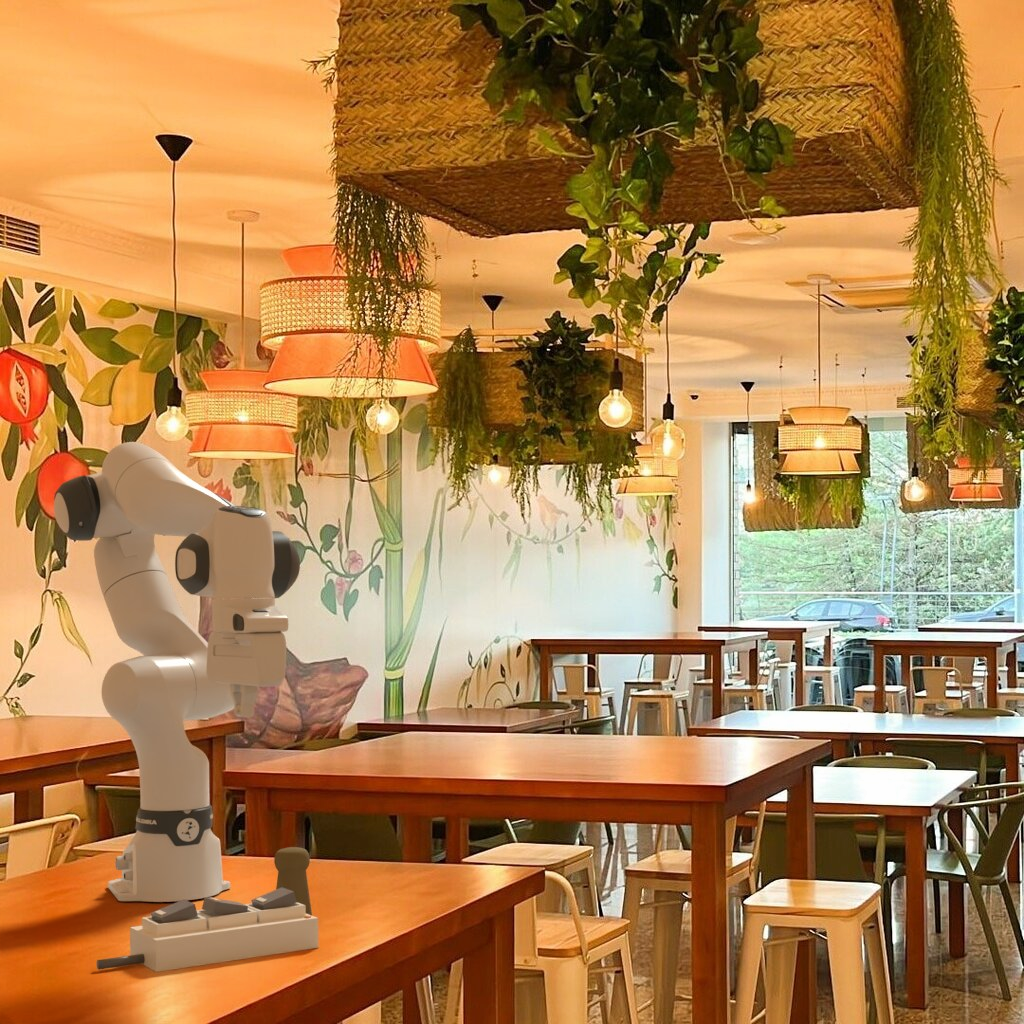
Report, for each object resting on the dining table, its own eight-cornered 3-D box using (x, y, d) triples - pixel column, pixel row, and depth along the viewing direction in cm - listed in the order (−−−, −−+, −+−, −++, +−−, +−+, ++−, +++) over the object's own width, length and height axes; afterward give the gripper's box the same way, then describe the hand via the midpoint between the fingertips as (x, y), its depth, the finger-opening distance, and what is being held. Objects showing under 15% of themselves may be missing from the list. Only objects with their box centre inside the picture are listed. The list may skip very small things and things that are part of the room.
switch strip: (86, 963, 204) (85, 921, 204) (287, 934, 220) (287, 895, 220) (110, 978, 195) (110, 934, 196) (318, 947, 211) (318, 906, 212)
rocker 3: (254, 911, 214) (250, 899, 214) (284, 898, 216) (281, 886, 216) (265, 915, 210) (262, 903, 210) (296, 902, 213) (293, 890, 213)
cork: (315, 918, 231) (314, 844, 231) (311, 927, 225) (310, 850, 225) (274, 919, 231) (273, 845, 231) (269, 928, 224) (268, 851, 225)
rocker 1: (153, 924, 206) (150, 911, 206) (186, 910, 209) (183, 898, 208) (164, 929, 203) (160, 916, 203) (197, 915, 205) (194, 902, 205)
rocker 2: (201, 909, 210) (204, 896, 210) (234, 913, 212) (236, 900, 213) (213, 913, 206) (216, 900, 207) (245, 918, 209) (248, 905, 209)
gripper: (195, 619, 227) (195, 714, 226) (251, 619, 210) (252, 722, 209) (235, 618, 230) (236, 711, 229) (293, 618, 213) (294, 719, 212)
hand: (244, 716), depth 219 cm, fingers closed
